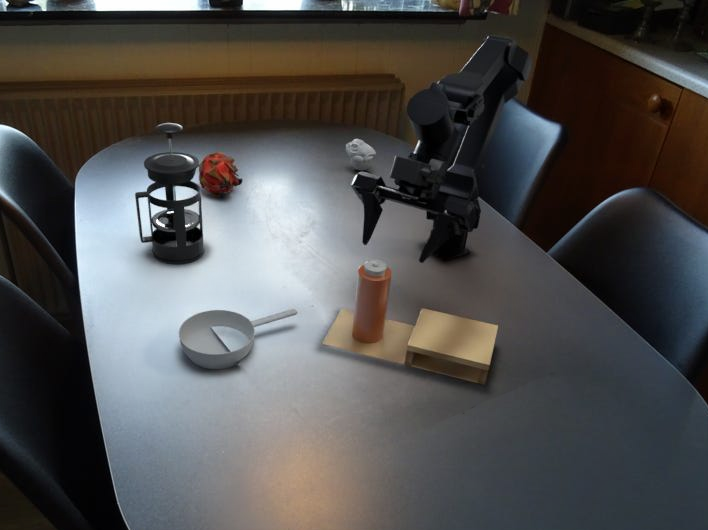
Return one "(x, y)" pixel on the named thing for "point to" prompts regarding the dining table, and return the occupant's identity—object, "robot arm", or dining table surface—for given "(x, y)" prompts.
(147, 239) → the french press
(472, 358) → the stand
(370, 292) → the pepper mill
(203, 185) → the dragon fruit
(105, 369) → the dining table surface
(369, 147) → the frog figurine
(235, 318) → the saucepan
